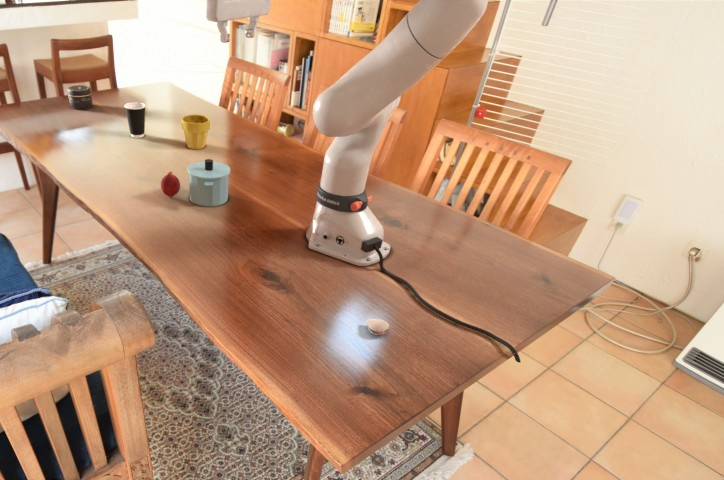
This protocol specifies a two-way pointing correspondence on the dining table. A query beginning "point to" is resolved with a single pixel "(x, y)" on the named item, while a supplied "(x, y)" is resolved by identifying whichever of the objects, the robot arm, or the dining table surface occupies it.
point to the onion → (170, 184)
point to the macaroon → (377, 326)
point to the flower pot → (195, 130)
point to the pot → (208, 191)
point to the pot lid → (208, 169)
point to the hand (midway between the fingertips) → (237, 39)
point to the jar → (80, 97)
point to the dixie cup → (136, 118)
